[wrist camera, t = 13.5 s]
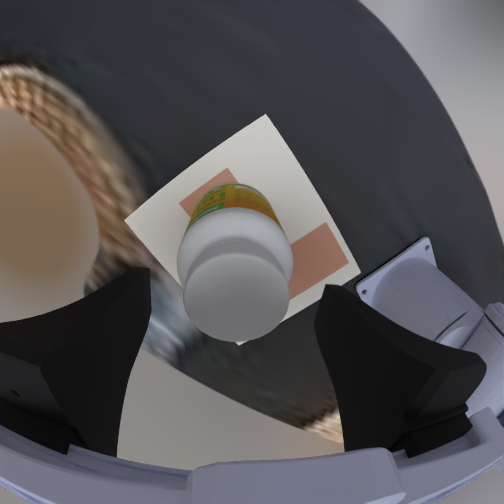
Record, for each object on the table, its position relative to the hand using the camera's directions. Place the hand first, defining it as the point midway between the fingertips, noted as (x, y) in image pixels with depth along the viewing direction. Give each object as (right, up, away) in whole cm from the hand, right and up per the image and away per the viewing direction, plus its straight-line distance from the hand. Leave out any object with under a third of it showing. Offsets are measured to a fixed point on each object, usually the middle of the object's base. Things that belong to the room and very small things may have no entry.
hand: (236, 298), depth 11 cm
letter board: (0, +2, +9) cm, 10 cm away
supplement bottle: (-1, +4, +8) cm, 9 cm away
